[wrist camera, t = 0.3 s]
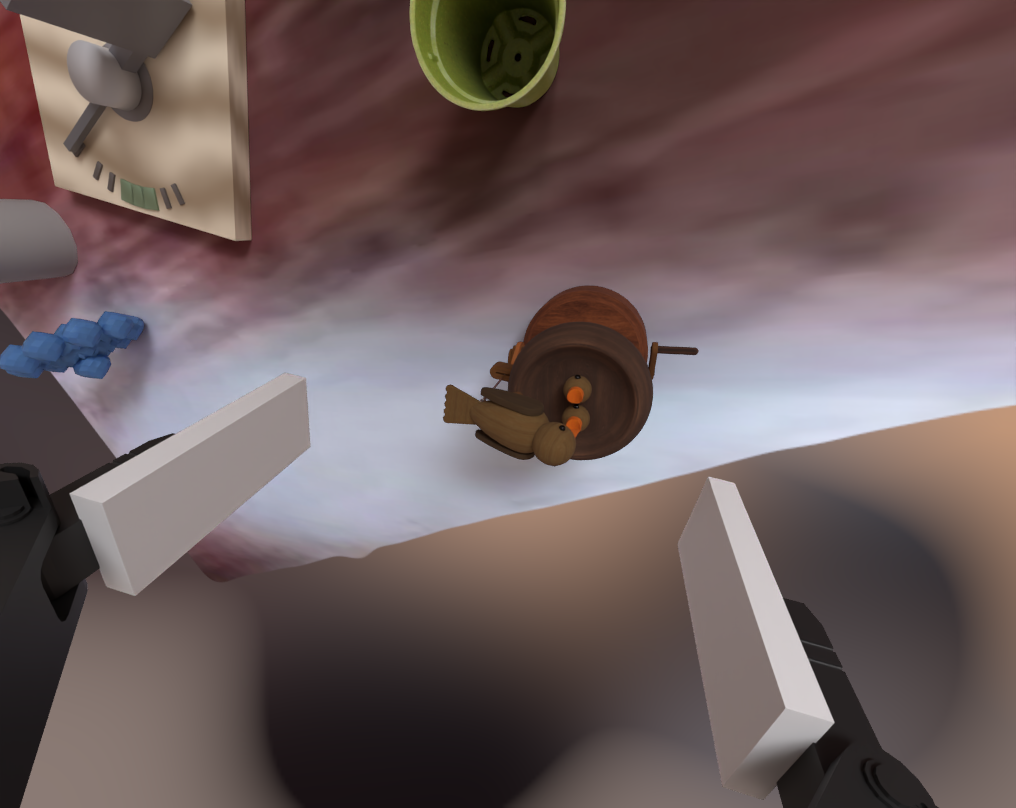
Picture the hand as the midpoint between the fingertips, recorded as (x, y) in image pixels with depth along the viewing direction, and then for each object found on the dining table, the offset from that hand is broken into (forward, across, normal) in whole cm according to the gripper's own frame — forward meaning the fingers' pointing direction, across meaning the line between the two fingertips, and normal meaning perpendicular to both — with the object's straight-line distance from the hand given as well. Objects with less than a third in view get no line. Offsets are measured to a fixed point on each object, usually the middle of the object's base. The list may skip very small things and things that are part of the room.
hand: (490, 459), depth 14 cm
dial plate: (+30, -43, +10) cm, 53 cm away
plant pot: (+29, -7, +16) cm, 33 cm away
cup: (+31, -61, -7) cm, 68 cm away
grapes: (+30, -50, -17) cm, 61 cm away
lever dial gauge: (+28, -42, +10) cm, 52 cm away
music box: (+27, +4, -4) cm, 28 cm away
